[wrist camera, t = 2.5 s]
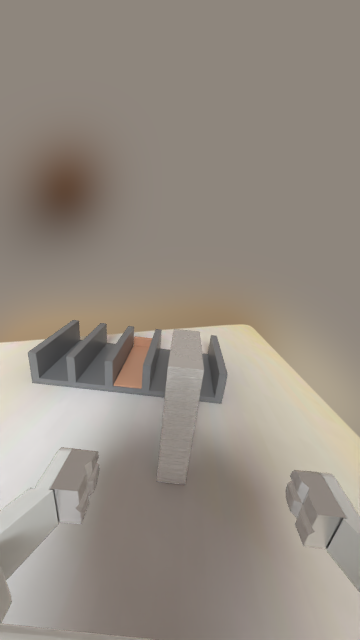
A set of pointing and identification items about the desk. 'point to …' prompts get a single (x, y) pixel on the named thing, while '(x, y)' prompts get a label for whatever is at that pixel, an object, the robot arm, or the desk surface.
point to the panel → (180, 406)
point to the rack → (117, 363)
